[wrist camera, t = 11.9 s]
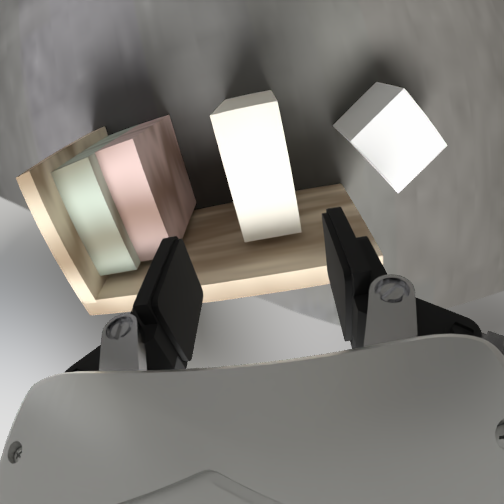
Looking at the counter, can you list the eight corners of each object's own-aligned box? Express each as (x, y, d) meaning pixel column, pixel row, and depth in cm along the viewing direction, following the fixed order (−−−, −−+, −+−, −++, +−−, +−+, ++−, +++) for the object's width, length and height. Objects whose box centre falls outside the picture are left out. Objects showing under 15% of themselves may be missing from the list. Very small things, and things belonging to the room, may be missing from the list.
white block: (224, 99, 24) (209, 115, 17) (270, 89, 24) (277, 100, 16) (248, 191, 29) (244, 242, 22) (290, 183, 29) (301, 232, 21)
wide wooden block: (92, 131, 26) (15, 177, 16) (325, 71, 23) (374, 78, 13) (134, 236, 32) (90, 315, 22) (342, 197, 29) (382, 273, 19)
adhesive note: (375, 81, 23) (404, 87, 18) (415, 127, 25) (447, 145, 20) (331, 125, 26) (350, 142, 21) (374, 168, 28) (398, 193, 23)
